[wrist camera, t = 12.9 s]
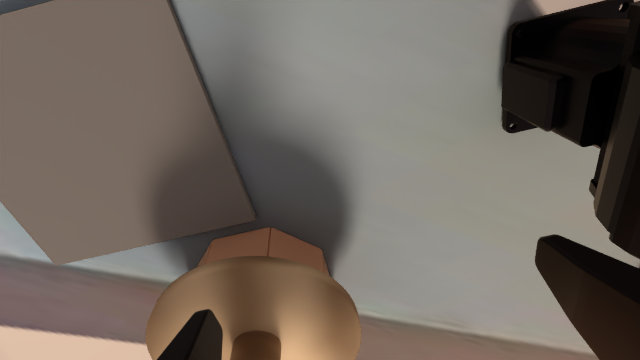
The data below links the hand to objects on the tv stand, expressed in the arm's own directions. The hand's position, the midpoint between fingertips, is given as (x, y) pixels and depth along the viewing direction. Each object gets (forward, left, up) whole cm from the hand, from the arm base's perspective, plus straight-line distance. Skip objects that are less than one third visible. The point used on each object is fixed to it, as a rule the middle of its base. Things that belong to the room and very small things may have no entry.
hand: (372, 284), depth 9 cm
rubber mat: (+14, -2, -13) cm, 19 cm away
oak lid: (+8, +12, -8) cm, 17 cm away
